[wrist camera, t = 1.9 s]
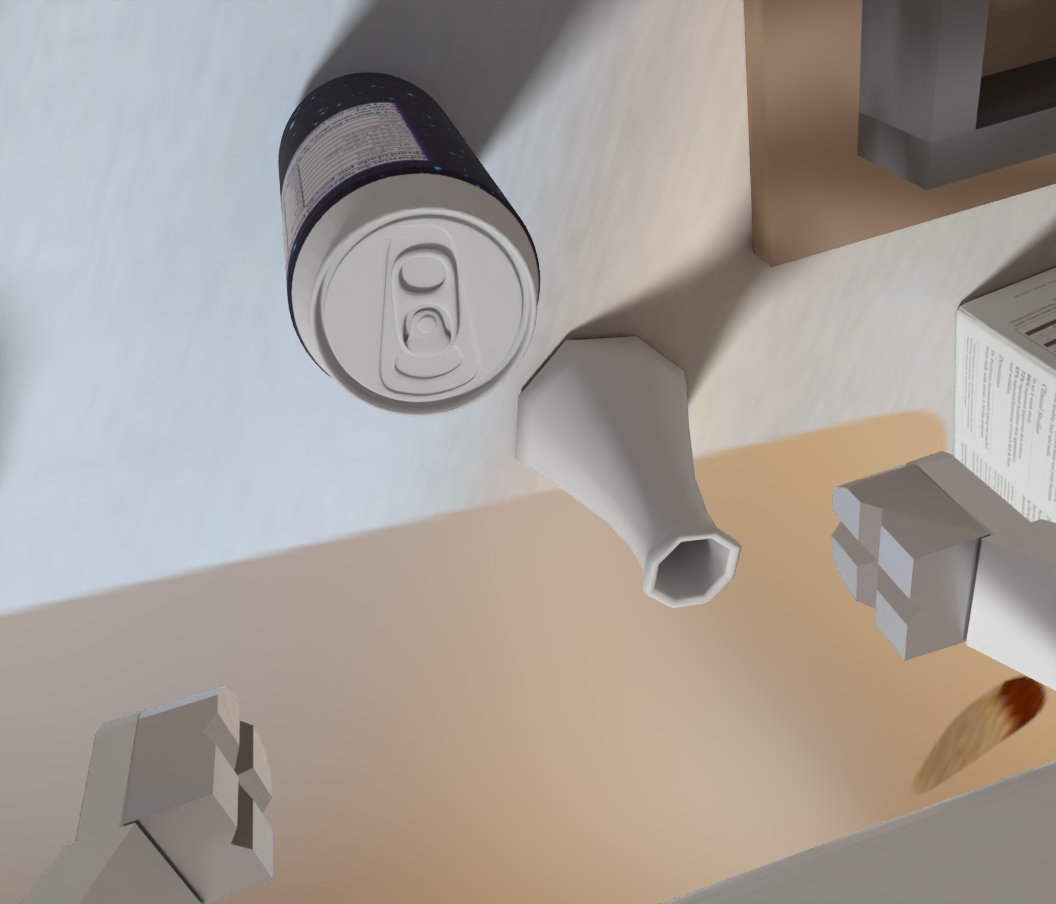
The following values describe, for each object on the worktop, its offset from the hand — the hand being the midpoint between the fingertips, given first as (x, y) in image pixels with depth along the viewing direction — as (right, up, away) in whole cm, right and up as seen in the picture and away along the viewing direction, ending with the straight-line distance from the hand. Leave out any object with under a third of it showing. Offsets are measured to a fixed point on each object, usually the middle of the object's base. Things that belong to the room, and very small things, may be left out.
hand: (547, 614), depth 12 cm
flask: (+3, +4, +25) cm, 25 cm away
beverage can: (-5, +12, +17) cm, 21 cm away
